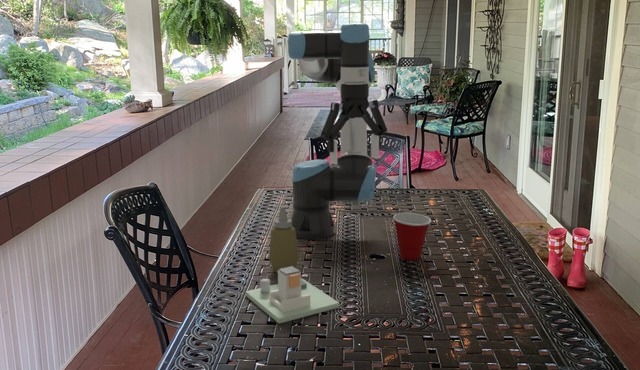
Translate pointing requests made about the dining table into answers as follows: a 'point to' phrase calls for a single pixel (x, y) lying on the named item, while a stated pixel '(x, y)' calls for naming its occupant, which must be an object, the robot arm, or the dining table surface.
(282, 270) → the plug
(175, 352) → the dining table surface
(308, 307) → the board
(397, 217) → the plastic cup
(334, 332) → the dining table surface
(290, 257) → the squeeze bottle
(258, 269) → the dining table surface
